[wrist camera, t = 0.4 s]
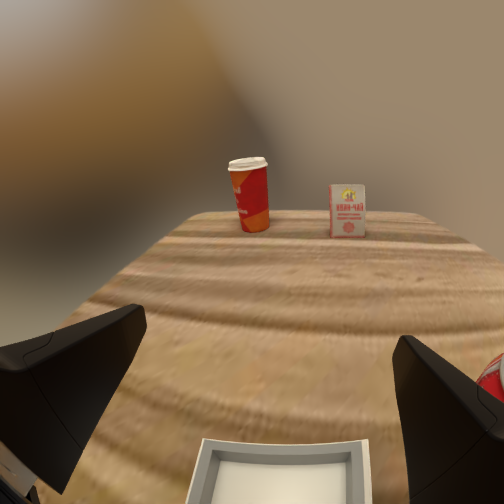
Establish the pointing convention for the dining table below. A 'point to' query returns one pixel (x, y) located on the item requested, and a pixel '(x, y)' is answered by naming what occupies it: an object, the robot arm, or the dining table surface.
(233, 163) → the coffee cup
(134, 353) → the robot arm
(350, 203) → the tea bag
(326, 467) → the can holder
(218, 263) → the dining table surface
